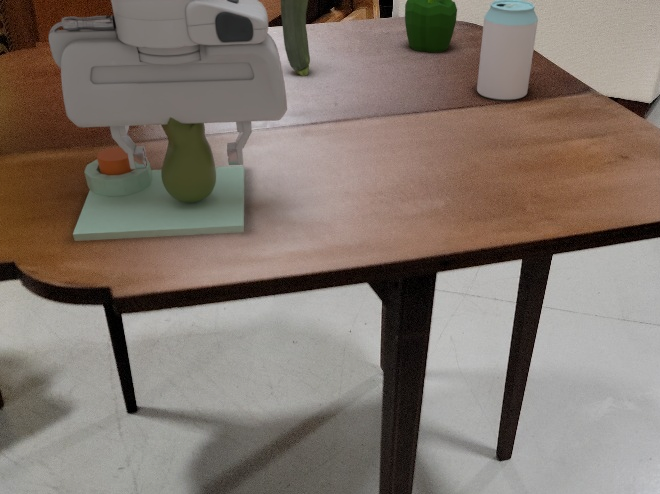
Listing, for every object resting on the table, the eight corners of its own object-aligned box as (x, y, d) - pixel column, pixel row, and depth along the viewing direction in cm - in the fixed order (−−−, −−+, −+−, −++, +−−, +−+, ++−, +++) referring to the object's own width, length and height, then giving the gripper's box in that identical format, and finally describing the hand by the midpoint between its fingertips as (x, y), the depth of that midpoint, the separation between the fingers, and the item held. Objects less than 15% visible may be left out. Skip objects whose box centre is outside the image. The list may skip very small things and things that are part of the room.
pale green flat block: (72, 245, 70) (65, 216, 68) (96, 181, 81) (90, 155, 79) (244, 236, 71) (241, 208, 69) (244, 174, 82) (242, 149, 80)
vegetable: (281, 79, 109) (272, -76, 96) (287, 70, 112) (279, -81, 100) (310, 80, 108) (305, -75, 96) (316, 72, 112) (311, -80, 99)
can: (480, 104, 101) (490, 10, 93) (472, 87, 106) (481, -3, 99) (531, 104, 101) (545, 10, 93) (520, 87, 106) (533, -3, 99)
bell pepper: (398, 44, 124) (400, -21, 117) (445, 42, 125) (450, -23, 119) (410, 59, 117) (413, -10, 111) (459, 56, 118) (465, -12, 112)
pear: (226, 204, 74) (215, 105, 68) (176, 216, 72) (159, 115, 66) (207, 183, 78) (194, 88, 71) (158, 194, 76) (141, 97, 69)
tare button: (97, 178, 75) (94, 162, 74) (103, 163, 78) (99, 148, 77) (133, 176, 76) (130, 160, 75) (137, 162, 78) (134, 146, 77)
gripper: (34, 26, 60) (74, 183, 69) (283, 21, 62) (291, 174, 71) (50, 8, 65) (85, 156, 74) (280, 3, 67) (288, 148, 76)
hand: (188, 165), depth 72 cm, fingers open, 8 cm apart
